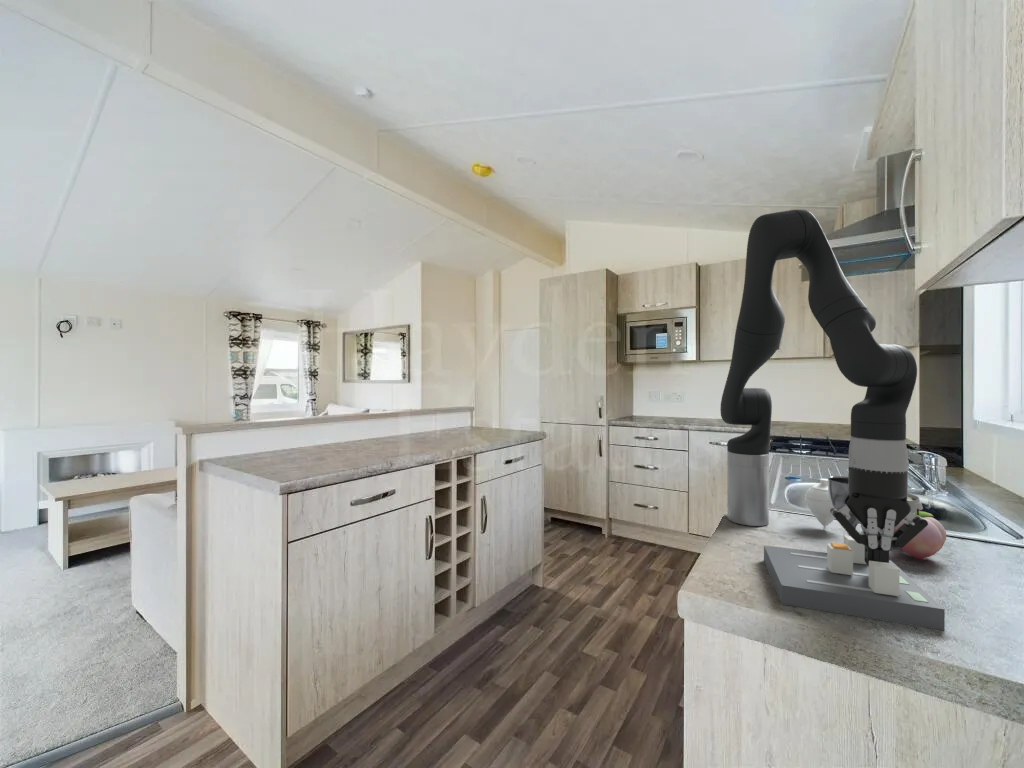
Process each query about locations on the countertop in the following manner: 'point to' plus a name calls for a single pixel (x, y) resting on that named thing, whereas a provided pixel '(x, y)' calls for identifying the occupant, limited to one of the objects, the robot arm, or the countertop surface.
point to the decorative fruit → (925, 538)
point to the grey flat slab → (847, 590)
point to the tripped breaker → (839, 558)
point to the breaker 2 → (884, 578)
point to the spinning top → (820, 502)
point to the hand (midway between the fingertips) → (876, 569)
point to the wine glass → (840, 494)
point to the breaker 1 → (855, 549)
